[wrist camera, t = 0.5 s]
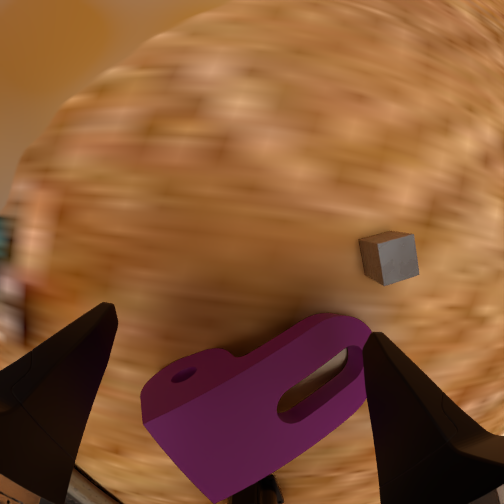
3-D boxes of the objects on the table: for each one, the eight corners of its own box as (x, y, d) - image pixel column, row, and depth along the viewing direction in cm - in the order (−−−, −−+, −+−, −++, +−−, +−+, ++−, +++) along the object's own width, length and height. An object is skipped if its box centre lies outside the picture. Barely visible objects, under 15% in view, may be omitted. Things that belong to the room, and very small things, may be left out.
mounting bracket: (303, 289, 29) (138, 379, 23) (360, 292, 21) (142, 423, 15) (333, 363, 30) (190, 451, 24) (387, 383, 22) (213, 504, 16)
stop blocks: (404, 416, 25) (418, 437, 21) (379, 425, 25) (391, 448, 21) (390, 230, 22) (413, 234, 18) (358, 239, 23) (377, 244, 19)
